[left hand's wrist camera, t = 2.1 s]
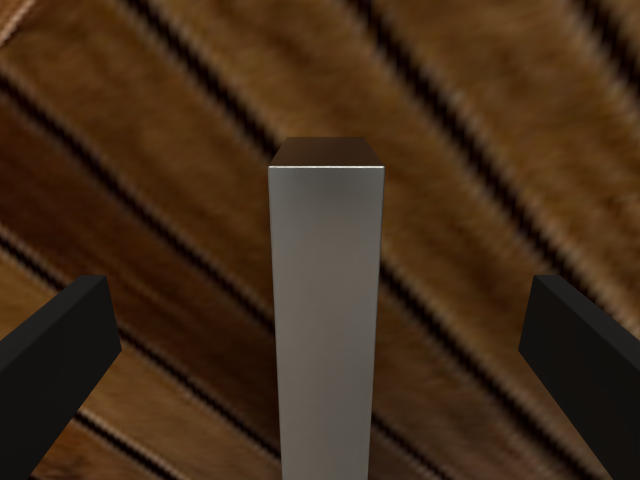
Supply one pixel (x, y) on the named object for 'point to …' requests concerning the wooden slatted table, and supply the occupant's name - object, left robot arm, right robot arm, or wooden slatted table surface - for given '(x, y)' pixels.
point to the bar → (325, 301)
